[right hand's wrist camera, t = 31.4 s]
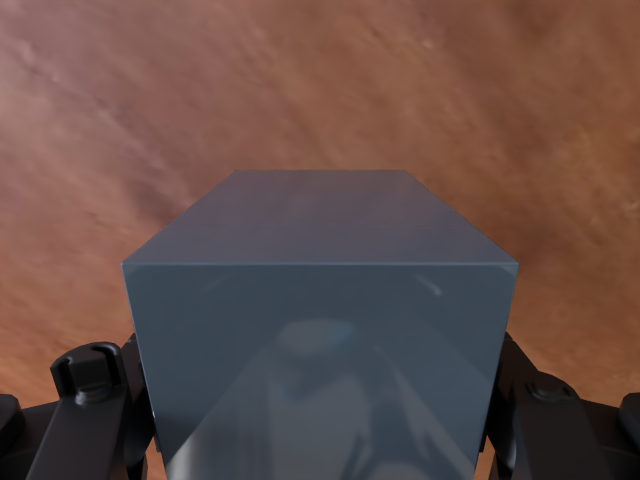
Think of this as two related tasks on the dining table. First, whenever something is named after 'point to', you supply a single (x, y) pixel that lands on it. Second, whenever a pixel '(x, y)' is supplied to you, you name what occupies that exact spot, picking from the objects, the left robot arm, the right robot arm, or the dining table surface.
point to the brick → (320, 329)
